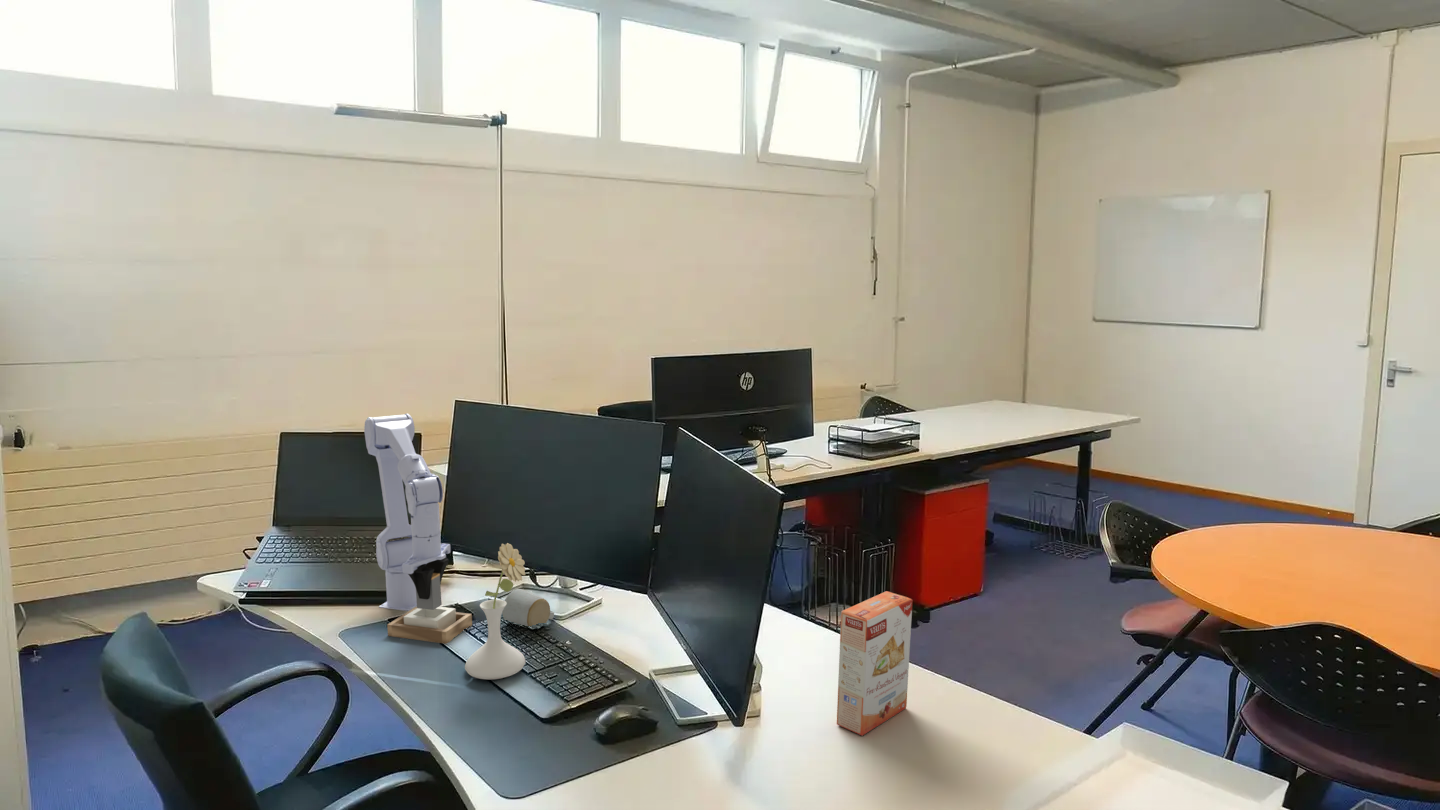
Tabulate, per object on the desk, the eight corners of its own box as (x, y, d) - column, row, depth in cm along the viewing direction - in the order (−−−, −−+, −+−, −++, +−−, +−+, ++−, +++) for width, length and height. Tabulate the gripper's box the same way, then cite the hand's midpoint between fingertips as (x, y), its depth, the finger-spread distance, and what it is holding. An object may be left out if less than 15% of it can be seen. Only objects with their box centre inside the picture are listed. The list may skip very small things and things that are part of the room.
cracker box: (864, 738, 150) (868, 620, 147) (835, 725, 154) (838, 610, 151) (909, 709, 160) (914, 597, 157) (881, 697, 164) (885, 588, 161)
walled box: (416, 619, 198) (415, 607, 198) (472, 627, 195) (471, 614, 194) (388, 637, 189) (387, 624, 188) (446, 645, 185) (445, 632, 185)
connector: (425, 603, 193) (423, 571, 192) (441, 604, 192) (439, 573, 191) (417, 608, 190) (414, 576, 189) (433, 609, 189) (431, 578, 188)
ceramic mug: (529, 636, 190) (528, 601, 189) (501, 627, 194) (501, 594, 193) (563, 620, 199) (563, 587, 198) (536, 612, 203) (535, 580, 202)
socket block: (423, 621, 196) (423, 604, 195) (456, 626, 194) (455, 608, 193) (404, 634, 189) (403, 616, 189) (437, 638, 187) (437, 620, 187)
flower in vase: (493, 691, 166) (488, 561, 162) (452, 675, 172) (446, 550, 168) (544, 665, 176) (540, 543, 172) (503, 651, 183) (499, 533, 179)
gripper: (422, 545, 180) (425, 609, 182) (461, 525, 194) (464, 585, 196) (392, 542, 182) (395, 606, 184) (433, 523, 196) (435, 582, 198)
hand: (429, 595), depth 190 cm, fingers closed on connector, 3 cm apart
